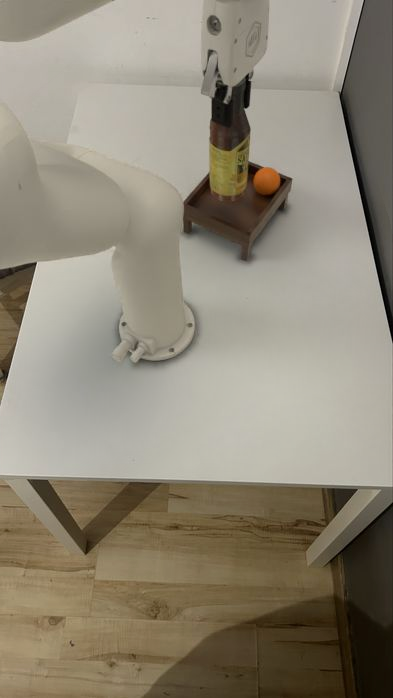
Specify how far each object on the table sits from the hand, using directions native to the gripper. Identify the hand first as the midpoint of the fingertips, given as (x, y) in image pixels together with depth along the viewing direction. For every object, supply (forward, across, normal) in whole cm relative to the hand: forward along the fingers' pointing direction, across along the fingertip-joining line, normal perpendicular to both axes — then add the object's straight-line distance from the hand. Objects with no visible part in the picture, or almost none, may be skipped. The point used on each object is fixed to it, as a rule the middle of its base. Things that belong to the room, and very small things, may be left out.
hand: (230, 113), depth 72 cm
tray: (+25, +4, 0) cm, 25 cm away
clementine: (+20, +8, -4) cm, 22 cm away
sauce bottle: (+15, 0, 0) cm, 15 cm away
